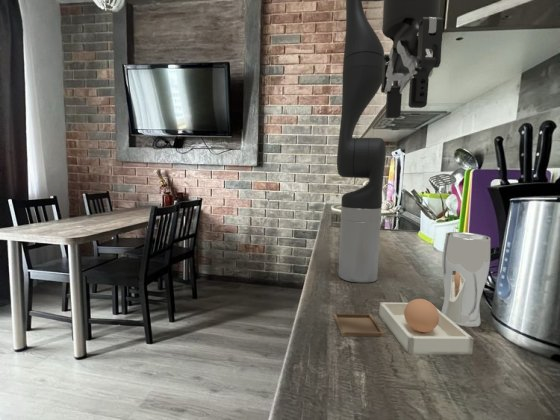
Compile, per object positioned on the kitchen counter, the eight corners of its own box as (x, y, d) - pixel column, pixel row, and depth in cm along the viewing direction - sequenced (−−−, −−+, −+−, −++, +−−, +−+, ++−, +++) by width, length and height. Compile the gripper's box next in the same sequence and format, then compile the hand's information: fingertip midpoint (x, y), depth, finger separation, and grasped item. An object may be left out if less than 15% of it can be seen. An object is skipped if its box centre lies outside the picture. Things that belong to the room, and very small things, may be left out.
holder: (333, 318, 54) (333, 313, 54) (370, 318, 55) (370, 313, 55) (341, 338, 48) (341, 333, 48) (384, 338, 48) (384, 333, 48)
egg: (397, 322, 52) (400, 293, 51) (427, 323, 52) (430, 294, 51) (411, 338, 47) (414, 306, 46) (444, 338, 47) (447, 307, 47)
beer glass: (442, 307, 60) (449, 230, 58) (485, 318, 55) (494, 235, 54) (433, 320, 54) (440, 235, 53) (480, 334, 50) (489, 242, 48)
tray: (378, 316, 55) (379, 302, 55) (428, 316, 56) (430, 302, 55) (408, 356, 43) (409, 338, 43) (472, 356, 44) (473, 338, 43)
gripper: (369, 18, 51) (364, 120, 53) (407, -40, 37) (398, 101, 39) (414, 20, 52) (407, 121, 53) (469, -37, 37) (457, 103, 39)
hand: (404, 113), depth 46 cm, fingers open, 8 cm apart
